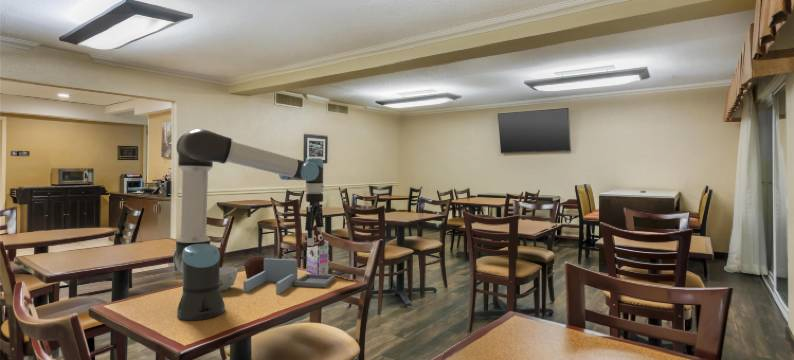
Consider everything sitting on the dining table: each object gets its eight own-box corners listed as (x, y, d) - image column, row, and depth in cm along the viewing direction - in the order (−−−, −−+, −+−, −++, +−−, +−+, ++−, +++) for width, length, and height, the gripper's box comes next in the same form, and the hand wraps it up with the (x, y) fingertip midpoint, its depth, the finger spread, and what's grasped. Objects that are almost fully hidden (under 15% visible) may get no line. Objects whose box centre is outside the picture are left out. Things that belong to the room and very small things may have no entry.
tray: (324, 288, 180) (324, 283, 180) (293, 286, 183) (293, 281, 183) (335, 279, 194) (335, 275, 194) (306, 278, 197) (306, 273, 196)
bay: (278, 294, 171) (278, 269, 171) (243, 292, 174) (243, 267, 173) (297, 281, 190) (297, 259, 190) (265, 280, 192) (265, 258, 192)
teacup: (199, 289, 176) (199, 270, 176) (226, 283, 187) (226, 265, 186) (219, 296, 168) (219, 276, 168) (247, 289, 178) (247, 270, 178)
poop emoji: (320, 243, 194) (320, 223, 194) (328, 246, 187) (328, 225, 187) (299, 245, 189) (299, 224, 188) (306, 248, 182) (306, 226, 181)
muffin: (274, 276, 199) (274, 255, 199) (255, 281, 190) (255, 259, 189) (257, 273, 205) (257, 252, 205) (238, 278, 196) (238, 256, 195)
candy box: (329, 275, 202) (329, 241, 202) (317, 277, 199) (317, 242, 198) (317, 269, 213) (317, 237, 213) (306, 271, 210) (306, 238, 210)
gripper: (313, 194, 176) (314, 248, 177) (330, 191, 197) (330, 239, 198) (296, 194, 177) (296, 247, 178) (315, 191, 199) (315, 239, 199)
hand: (314, 243), depth 188 cm, fingers closed on poop emoji, 9 cm apart
